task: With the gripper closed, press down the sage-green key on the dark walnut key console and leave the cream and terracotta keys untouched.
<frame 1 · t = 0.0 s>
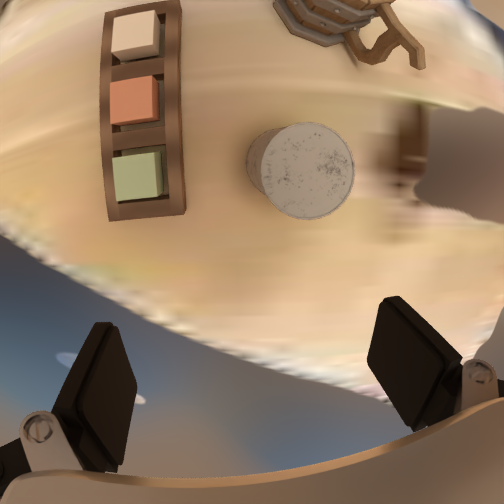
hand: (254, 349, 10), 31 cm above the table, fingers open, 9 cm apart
cream key: (136, 36, 26), point 4 cm above the table, slide at 0.0 cm
tankard: (330, 29, 32), on the table
key console: (143, 106, 33), on the table
sage key: (139, 175, 32), point 4 cm above the table, slide at 0.0 cm
terracotta key: (135, 101, 29), point 4 cm above the table, slide at 0.0 cm
grey stone cylinder: (281, 163, 38), on the table
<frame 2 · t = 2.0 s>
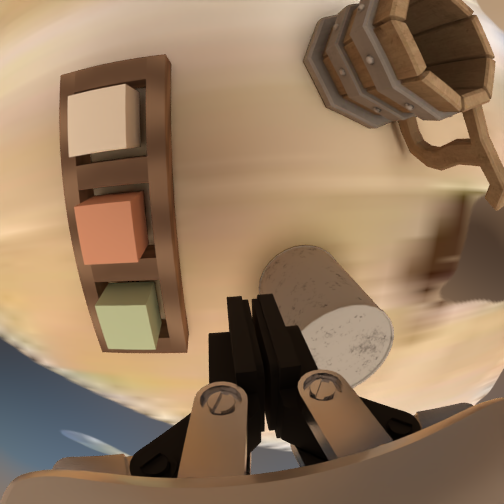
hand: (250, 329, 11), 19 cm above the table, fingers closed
cream key: (105, 121, 20), point 4 cm above the table, slide at 0.0 cm
tankard: (376, 98, 26), on the table
key console: (126, 214, 27), on the table
sage key: (130, 315, 27), point 4 cm above the table, slide at 0.0 cm
terracotta key: (113, 226, 23), point 4 cm above the table, slide at 0.0 cm
grey stone cylinder: (300, 284, 33), on the table
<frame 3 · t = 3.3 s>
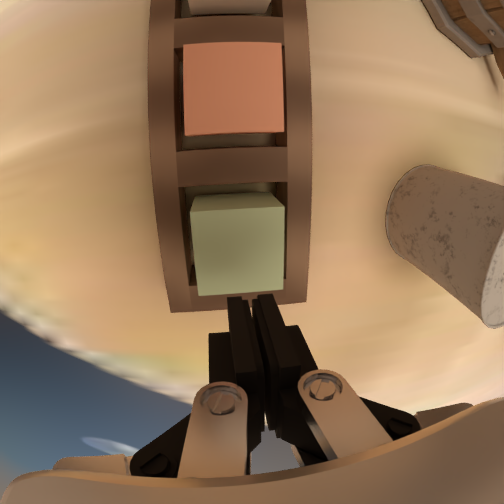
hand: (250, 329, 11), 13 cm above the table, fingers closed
tankard: (470, 34, 17), on the table
key console: (228, 101, 19), on the table
sage key: (236, 239, 18), point 4 cm above the table, slide at 0.0 cm
terracotta key: (231, 92, 15), point 4 cm above the table, slide at 0.0 cm
grey stone cylinder: (423, 213, 24), on the table
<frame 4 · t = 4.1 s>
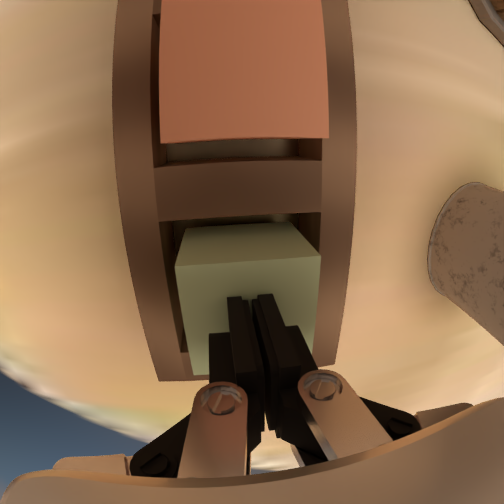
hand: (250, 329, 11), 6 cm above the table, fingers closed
key console: (231, 93, 13), on the table
sage key: (245, 294, 13), point 4 cm above the table, slide at 0.4 cm, touching gripper
terracotta key: (238, 74, 9), point 4 cm above the table, slide at 0.0 cm
grey stone cylinder: (467, 240, 19), on the table
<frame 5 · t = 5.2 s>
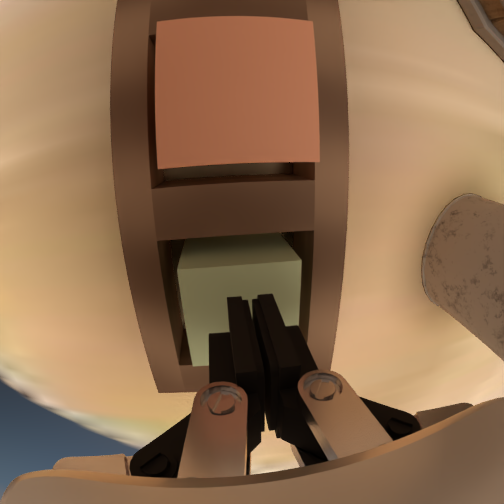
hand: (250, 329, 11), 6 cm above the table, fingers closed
tankard: (503, 38, 13), on the table
key console: (227, 112, 14), on the table
sage key: (238, 295, 15), point 2 cm above the table, slide at 1.9 cm
terracotta key: (232, 97, 10), point 4 cm above the table, slide at 0.0 cm
grey stone cylinder: (461, 251, 19), on the table
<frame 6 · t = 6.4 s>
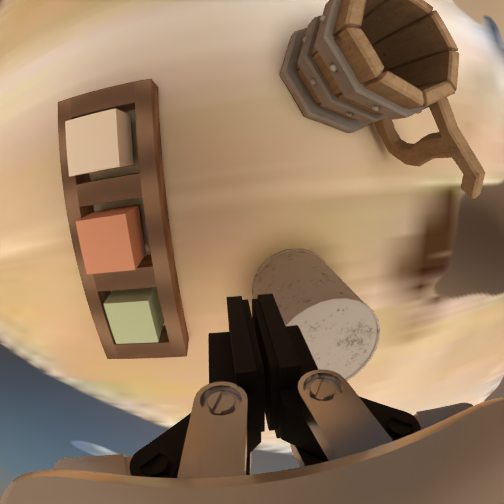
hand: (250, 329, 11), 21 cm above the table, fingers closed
cream key: (100, 143, 23), point 4 cm above the table, slide at 0.0 cm
tankard: (353, 103, 28), on the table
key console: (124, 228, 29), on the table
sage key: (135, 313, 30), point 2 cm above the table, slide at 1.9 cm
terracotta key: (112, 238, 25), point 4 cm above the table, slide at 0.0 cm
grey stone cylinder: (292, 287, 34), on the table
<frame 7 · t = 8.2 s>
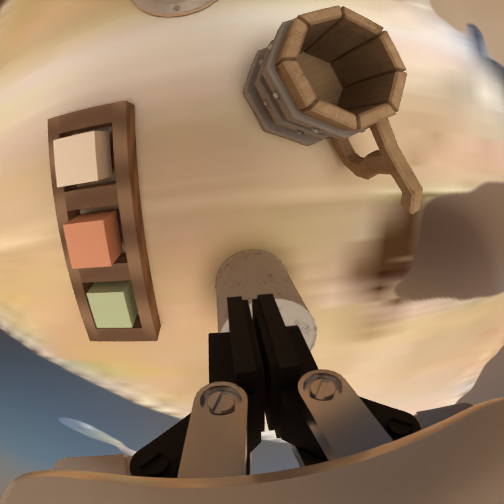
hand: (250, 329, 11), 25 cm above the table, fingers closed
cream key: (83, 158, 26), point 4 cm above the table, slide at 0.0 cm
tankard: (313, 117, 32), on the table
key console: (106, 228, 33), on the table
sage key: (114, 301, 34), point 2 cm above the table, slide at 1.9 cm
terracotta key: (93, 238, 29), point 4 cm above the table, slide at 0.0 cm
grey stone cylinder: (252, 283, 39), on the table
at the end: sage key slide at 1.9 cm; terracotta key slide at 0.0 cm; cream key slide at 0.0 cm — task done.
